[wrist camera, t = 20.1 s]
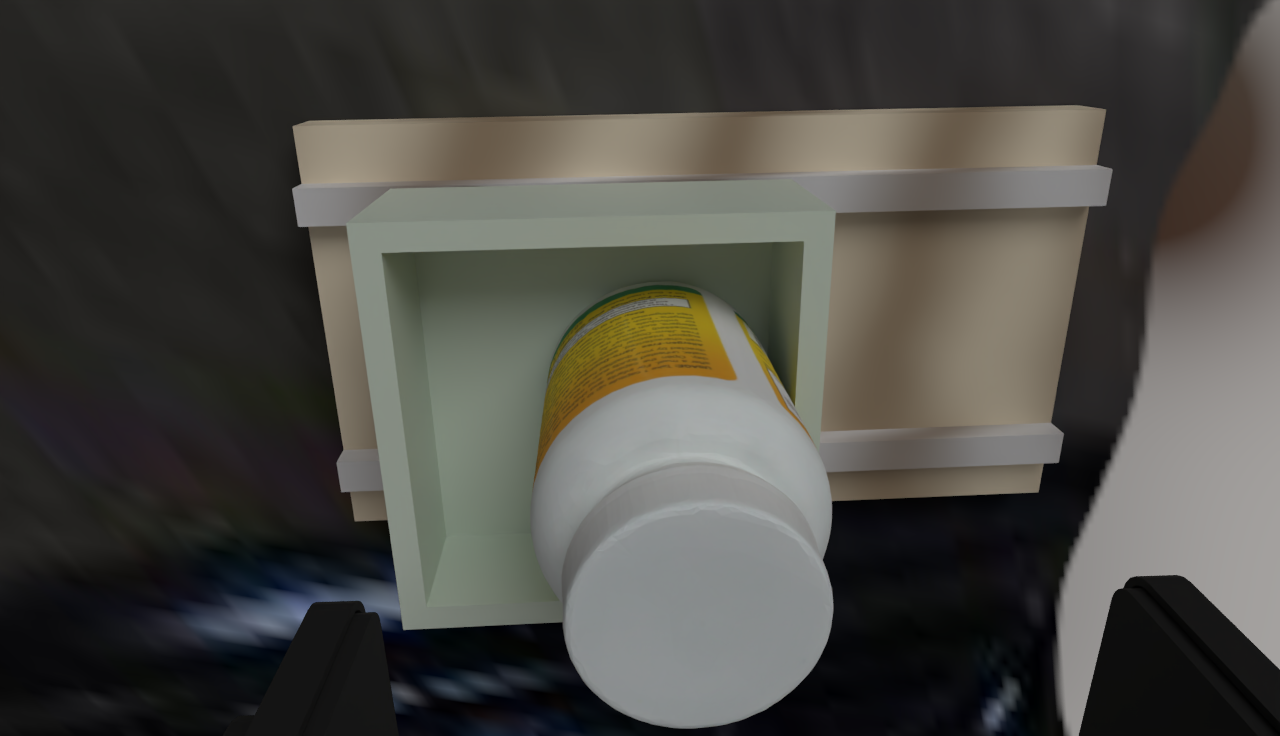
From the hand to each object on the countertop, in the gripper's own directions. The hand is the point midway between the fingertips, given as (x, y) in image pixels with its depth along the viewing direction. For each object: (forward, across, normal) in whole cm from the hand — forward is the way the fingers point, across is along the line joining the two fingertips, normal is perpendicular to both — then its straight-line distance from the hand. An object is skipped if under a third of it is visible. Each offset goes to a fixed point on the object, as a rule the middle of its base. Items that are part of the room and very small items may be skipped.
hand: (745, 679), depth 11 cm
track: (+17, -1, +1) cm, 17 cm away
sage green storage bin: (+14, +2, +1) cm, 14 cm away
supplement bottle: (+11, +1, +1) cm, 11 cm away
